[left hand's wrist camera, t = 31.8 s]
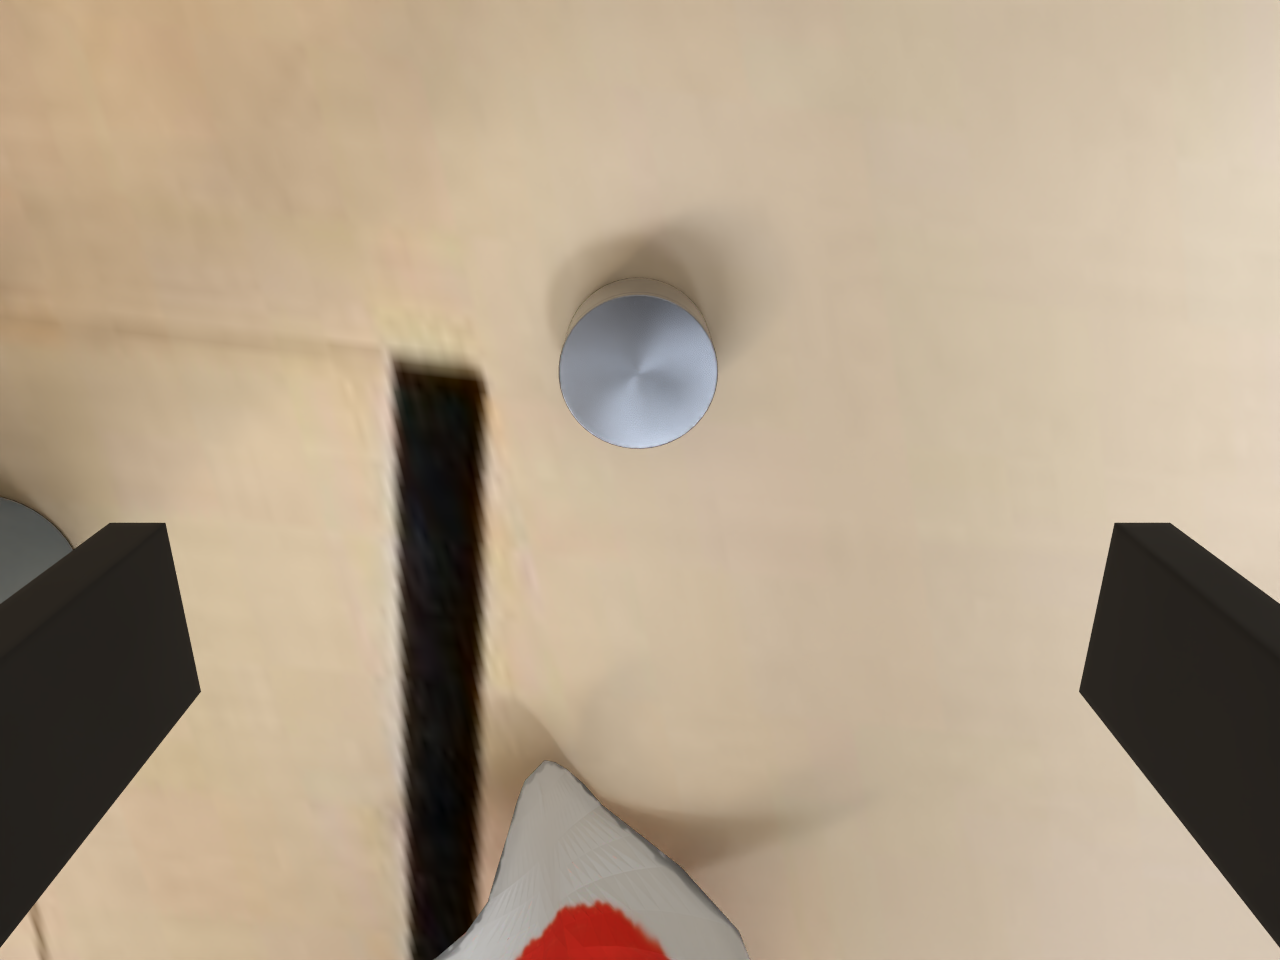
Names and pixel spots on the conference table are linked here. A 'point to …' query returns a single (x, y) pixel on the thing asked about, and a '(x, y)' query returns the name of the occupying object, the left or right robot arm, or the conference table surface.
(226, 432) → the conference table surface
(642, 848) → the fish
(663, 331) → the cap
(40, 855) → the left robot arm
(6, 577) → the bottle
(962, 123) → the conference table surface
